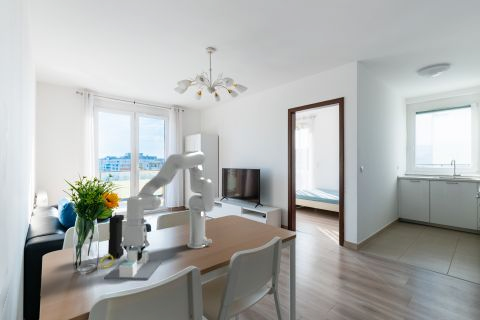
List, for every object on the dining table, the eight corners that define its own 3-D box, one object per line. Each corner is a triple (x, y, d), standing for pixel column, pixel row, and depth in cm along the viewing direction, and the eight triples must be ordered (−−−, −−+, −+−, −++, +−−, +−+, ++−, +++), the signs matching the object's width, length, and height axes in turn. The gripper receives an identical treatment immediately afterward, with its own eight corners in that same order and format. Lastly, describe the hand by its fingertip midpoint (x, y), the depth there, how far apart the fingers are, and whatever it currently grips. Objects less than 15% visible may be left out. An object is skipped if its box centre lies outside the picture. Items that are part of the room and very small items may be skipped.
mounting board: (161, 262, 121) (162, 249, 121) (147, 279, 103) (147, 265, 103) (124, 261, 121) (124, 249, 121) (103, 279, 103) (103, 265, 103)
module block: (141, 258, 114) (141, 245, 114) (135, 263, 108) (136, 250, 108) (133, 258, 115) (133, 245, 115) (127, 263, 109) (127, 250, 109)
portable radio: (113, 253, 131) (113, 210, 131) (124, 253, 132) (124, 210, 132) (106, 259, 123) (107, 213, 123) (118, 259, 124) (118, 213, 124)
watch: (102, 270, 112) (101, 258, 112) (99, 268, 114) (98, 256, 114) (114, 264, 117) (113, 253, 117) (112, 263, 119) (111, 252, 118)
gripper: (155, 220, 115) (154, 256, 115) (122, 219, 115) (121, 256, 115) (149, 224, 108) (148, 263, 108) (113, 223, 108) (113, 262, 108)
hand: (134, 259), depth 112 cm, fingers closed on module block, 4 cm apart
